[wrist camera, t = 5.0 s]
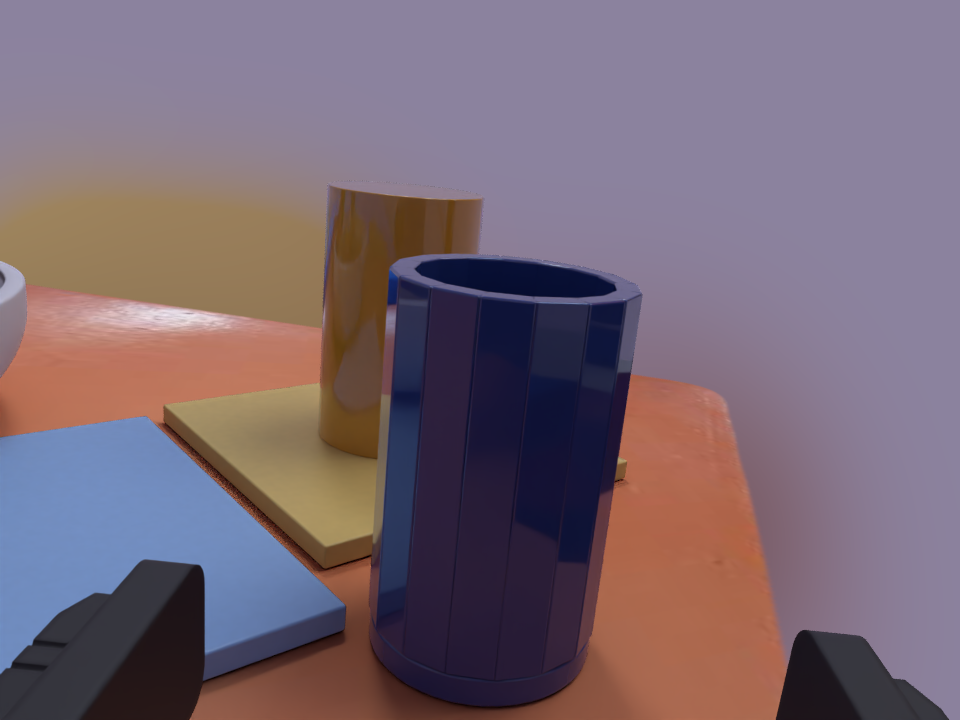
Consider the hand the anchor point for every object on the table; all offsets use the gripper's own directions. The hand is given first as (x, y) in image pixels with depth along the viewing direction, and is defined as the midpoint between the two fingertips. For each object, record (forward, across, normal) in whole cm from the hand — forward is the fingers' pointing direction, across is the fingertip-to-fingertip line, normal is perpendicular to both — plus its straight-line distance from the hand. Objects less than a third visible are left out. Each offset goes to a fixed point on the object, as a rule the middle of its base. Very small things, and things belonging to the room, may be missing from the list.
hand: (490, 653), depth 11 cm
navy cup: (+10, 0, +6) cm, 12 cm away
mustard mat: (+22, +4, +6) cm, 24 cm away
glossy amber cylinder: (+22, +4, +6) cm, 23 cm away
